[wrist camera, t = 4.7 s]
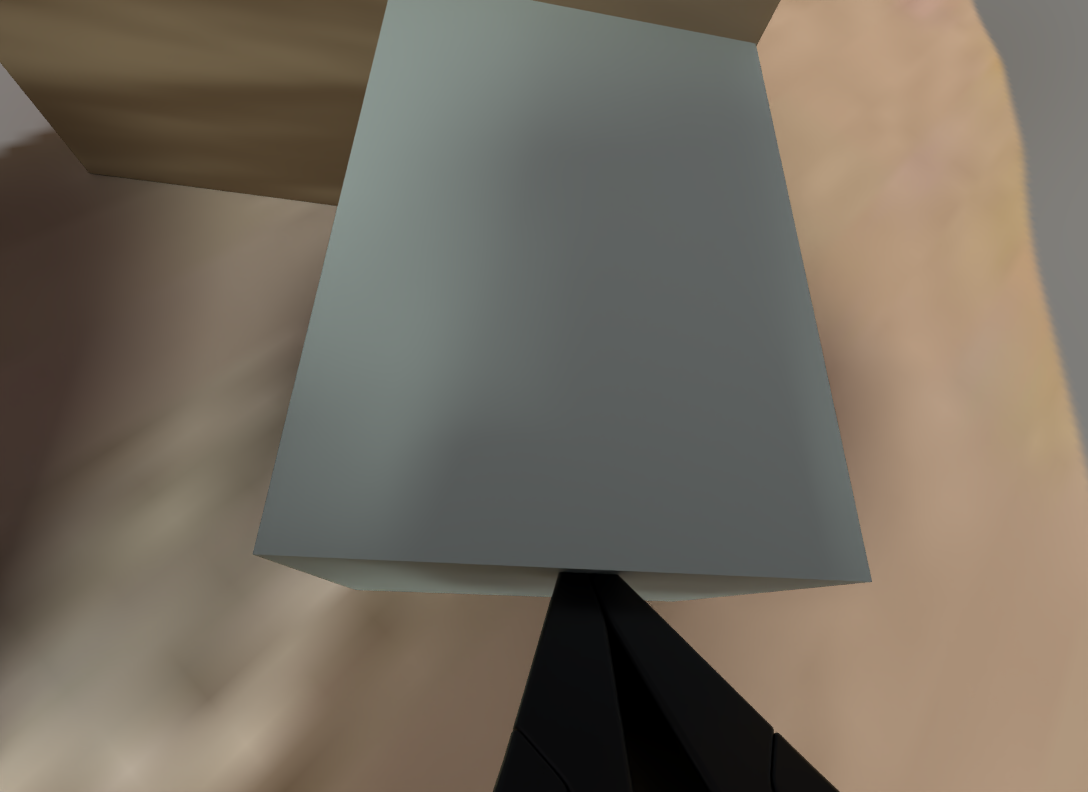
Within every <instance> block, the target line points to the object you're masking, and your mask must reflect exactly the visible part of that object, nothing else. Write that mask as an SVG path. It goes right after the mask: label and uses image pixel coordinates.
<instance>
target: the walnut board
mask: <svg viewBox="0 0 1088 792" xmlns="http://www.w3.org/2000/svg"><path fill="white" fill-rule="evenodd" d="M533 1H538V2H543V3H548V4H554V5H559V6H564V7H569V8H574V9H579V10H585V11H590V12H595V13H600V14H605V15H611V16H616V17H621V18H626V19H631V20H637V21H642V22H647V23H652V24H657V25H662V26H668V27H673V28H678V29H683V30H688V31H694V32H699V33H704V34H709V35H714V36H719V37H725V38H730V39H735V40H740V41H745V42H751V43H756V46H757V44H758V42H759V40H760V38H761V36H762V34H763V33H764V31H765V29H766V27H767V25H768V23H769V21H770V19H771V17H772V15H773V14H774V12H775V10H776V8H777V6H778V4H779V2H780V0H533ZM387 2H388V0H0V63H1V64H2V65H3V67H4V68H5V69H6V70H7V71H8V73H9V74H10V75H11V76H12V78H13V79H14V80H15V81H16V82H17V84H18V85H19V86H20V88H21V89H22V90H23V91H24V92H25V94H26V95H27V96H28V97H29V99H30V100H31V101H32V102H33V103H34V105H35V106H36V107H37V109H38V110H39V111H40V112H41V114H42V115H43V116H44V117H45V119H46V120H47V121H48V122H49V124H50V125H51V126H52V127H53V129H54V130H55V131H56V132H57V133H58V135H59V136H60V137H61V138H62V140H63V141H64V142H65V143H66V145H67V146H68V147H69V148H70V150H71V151H72V152H73V153H74V155H75V156H76V157H77V158H78V160H79V161H80V162H81V163H82V164H83V166H84V167H85V168H86V169H87V171H88V172H89V173H94V174H101V175H109V176H116V177H124V178H132V179H139V180H147V181H154V182H162V183H169V184H177V185H185V186H192V187H200V188H207V189H215V190H222V191H230V192H238V193H245V194H253V195H260V196H268V197H275V198H283V199H291V200H298V201H306V202H313V203H321V204H328V205H336V206H338V203H339V199H340V195H341V191H342V187H343V182H344V178H345V174H346V170H347V166H348V162H349V158H350V154H351V150H352V146H353V141H354V137H355V133H356V129H357V125H358V121H359V117H360V113H361V109H362V105H363V101H364V96H365V92H366V88H367V84H368V80H369V76H370V72H371V68H372V64H373V60H374V55H375V51H376V47H377V43H378V39H379V35H380V31H381V27H382V23H383V19H384V14H385V10H386V6H387Z"/></svg>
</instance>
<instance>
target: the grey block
mask: <svg viewBox="0 0 1088 792" xmlns="http://www.w3.org/2000/svg"><path fill="white" fill-rule="evenodd" d="M253 555H256V556H259V557H262V558H265V559H268V560H271V561H273V562H276V563H279V564H282V565H285V566H288V567H291V568H294V569H297V570H299V571H302V572H305V573H308V574H311V575H314V576H317V577H320V578H323V579H326V580H328V581H331V582H334V583H337V584H340V585H343V586H346V587H349V588H352V589H355V590H373V591H400V592H428V593H455V594H482V595H510V596H537V597H552V594H553V590H554V587H555V583H556V580H557V577H558V573H559V572H573V573H588V574H592V573H596V574H617V575H619V576H620V577H621V578H622V579H623V580H624V581H625V582H626V583H627V584H628V585H629V586H630V587H631V588H632V589H633V590H634V591H635V592H636V593H637V594H638V595H639V596H640V597H641V598H642V599H643V600H646V601H683V600H693V599H703V598H714V597H724V596H734V595H744V594H754V593H764V592H774V591H784V590H795V589H805V588H815V587H825V586H835V585H845V584H855V583H865V582H872V580H871V575H870V570H869V566H868V561H867V556H866V552H865V547H864V543H863V538H862V533H861V529H860V524H859V519H858V515H857V510H856V506H855V501H854V496H853V492H852V487H851V482H850V478H849V473H848V469H847V464H846V459H845V455H844V450H843V445H842V441H841V436H840V432H839V427H838V422H837V418H836V413H835V408H834V404H833V399H832V395H831V390H830V385H829V381H828V376H827V371H826V367H825V362H824V358H823V353H822V348H821V344H820V339H819V334H818V330H817V325H816V321H815V316H814V311H813V307H812V302H811V297H810V293H809V288H808V284H807V279H806V274H805V270H804V265H803V260H802V256H801V251H800V247H799V242H798V237H797V233H796V228H795V223H794V219H793V214H792V210H791V205H790V200H789V196H788V191H787V186H786V182H785V177H784V173H783V168H782V163H781V159H780V154H779V149H778V145H777V140H776V136H775V131H774V126H773V122H772V117H771V112H770V108H769V103H768V99H767V94H766V89H765V85H764V80H763V75H762V71H761V66H760V61H759V57H758V52H757V48H756V43H751V42H745V41H740V40H735V39H730V38H725V37H719V36H714V35H709V34H704V33H699V32H694V31H688V30H683V29H678V28H673V27H668V26H662V25H657V24H652V23H647V22H642V21H637V20H631V19H626V18H621V17H616V16H611V15H605V14H600V13H595V12H590V11H585V10H579V9H574V8H569V7H564V6H559V5H554V4H548V3H543V2H538V1H533V0H388V2H387V6H386V10H385V14H384V19H383V23H382V27H381V31H380V35H379V39H378V43H377V47H376V51H375V55H374V60H373V64H372V68H371V72H370V76H369V80H368V84H367V88H366V92H365V96H364V101H363V105H362V109H361V113H360V117H359V121H358V125H357V129H356V133H355V137H354V141H353V146H352V150H351V154H350V158H349V162H348V166H347V170H346V174H345V178H344V182H343V187H342V191H341V195H340V199H339V203H338V207H337V211H336V215H335V219H334V223H333V228H332V232H331V236H330V240H329V244H328V248H327V252H326V256H325V260H324V264H323V269H322V273H321V277H320V281H319V285H318V289H317V293H316V297H315V301H314V305H313V310H312V314H311V318H310V322H309V326H308V330H307V334H306V338H305V342H304V346H303V351H302V355H301V359H300V363H299V367H298V371H297V375H296V379H295V383H294V387H293V392H292V396H291V400H290V404H289V408H288V412H287V416H286V420H285V424H284V428H283V433H282V437H281V441H280V445H279V449H278V453H277V457H276V461H275V465H274V469H273V473H272V478H271V482H270V486H269V490H268V494H267V498H266V502H265V506H264V510H263V514H262V519H261V523H260V527H259V531H258V535H257V539H256V543H255V547H254V551H253Z"/></svg>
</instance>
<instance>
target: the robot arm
mask: <svg viewBox="0 0 1088 792" xmlns="http://www.w3.org/2000/svg"><path fill="white" fill-rule="evenodd" d="M493 792H839V791H838V790H837V789H836V788H835V787H834V786H833V785H832V784H831V783H830V782H829V781H828V780H827V779H826V778H825V777H824V776H823V775H822V774H821V773H819V772H818V771H817V770H816V769H815V768H814V767H813V766H812V765H811V764H810V763H809V762H808V761H807V760H806V759H805V758H804V757H803V756H802V755H801V754H800V753H799V752H798V751H797V750H796V749H795V748H794V747H792V746H791V745H790V744H789V743H788V742H787V741H786V740H785V739H784V738H783V737H782V736H781V735H780V734H779V733H774V729H773V727H772V726H771V725H770V724H769V723H768V722H767V721H766V720H765V719H764V718H763V717H762V716H761V715H760V714H759V713H758V712H757V711H756V710H755V709H754V708H753V707H752V706H751V705H750V704H749V703H748V702H747V701H746V700H745V699H744V698H743V697H742V696H741V695H740V694H739V693H738V692H737V691H736V690H735V689H734V688H732V687H731V686H730V685H729V684H728V683H727V682H726V681H725V680H724V679H723V678H722V677H721V676H720V675H719V674H718V673H717V672H716V671H715V670H714V669H713V668H712V667H711V666H710V665H709V664H708V663H707V662H706V661H705V660H704V659H703V658H702V657H701V656H700V655H699V654H698V653H697V652H696V651H695V650H694V649H693V648H692V647H691V646H690V645H689V644H688V643H687V642H686V641H685V640H684V639H683V638H682V637H681V636H680V635H679V634H678V633H677V632H676V631H675V630H674V629H673V628H672V627H671V626H670V625H669V624H668V623H667V622H666V621H665V620H664V619H663V618H662V617H661V616H660V615H659V614H658V613H657V612H656V611H655V610H654V609H653V608H652V607H650V606H649V605H648V604H647V603H646V602H645V601H644V600H643V599H642V598H641V597H640V596H639V595H638V594H637V593H636V592H635V591H634V590H633V589H632V588H631V587H630V586H629V585H628V584H627V583H626V582H625V581H624V580H623V579H622V578H621V577H620V576H619V575H617V574H596V573H592V574H588V573H573V572H559V573H558V577H557V580H556V583H555V587H554V590H553V594H552V597H551V600H550V604H549V607H548V611H547V614H546V618H545V621H544V624H543V628H542V631H541V635H540V638H539V641H538V645H537V648H536V652H535V655H534V658H533V662H532V665H531V669H530V672H529V676H528V679H527V682H526V686H525V689H524V693H523V696H522V699H521V703H520V706H519V710H518V713H517V717H516V720H515V723H514V727H513V731H512V733H511V736H510V739H509V743H508V746H507V749H506V753H505V756H504V760H503V763H502V766H501V769H500V772H499V775H498V778H497V781H496V784H495V787H494V790H493Z"/></svg>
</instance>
